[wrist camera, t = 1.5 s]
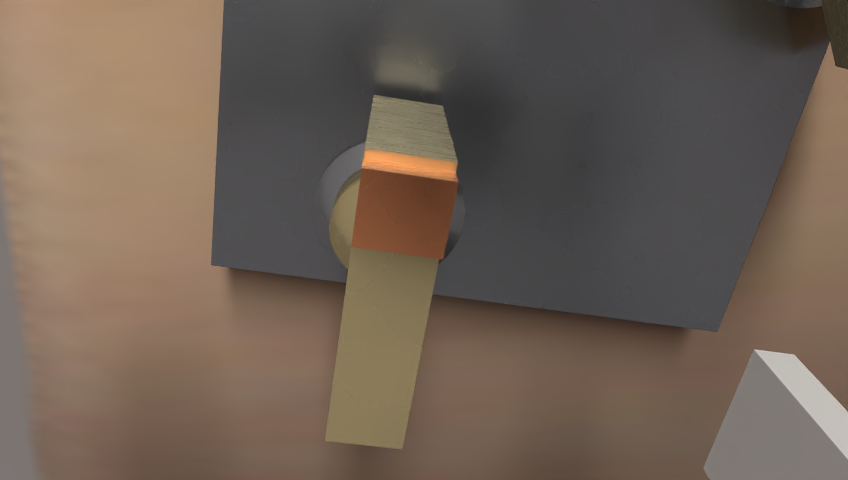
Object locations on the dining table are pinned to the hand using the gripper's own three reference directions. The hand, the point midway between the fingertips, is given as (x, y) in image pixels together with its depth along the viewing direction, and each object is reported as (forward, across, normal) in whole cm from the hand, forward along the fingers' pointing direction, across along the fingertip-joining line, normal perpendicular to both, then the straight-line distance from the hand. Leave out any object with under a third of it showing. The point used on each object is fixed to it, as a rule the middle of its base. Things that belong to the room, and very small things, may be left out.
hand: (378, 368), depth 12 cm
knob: (+8, 0, 0) cm, 8 cm away
